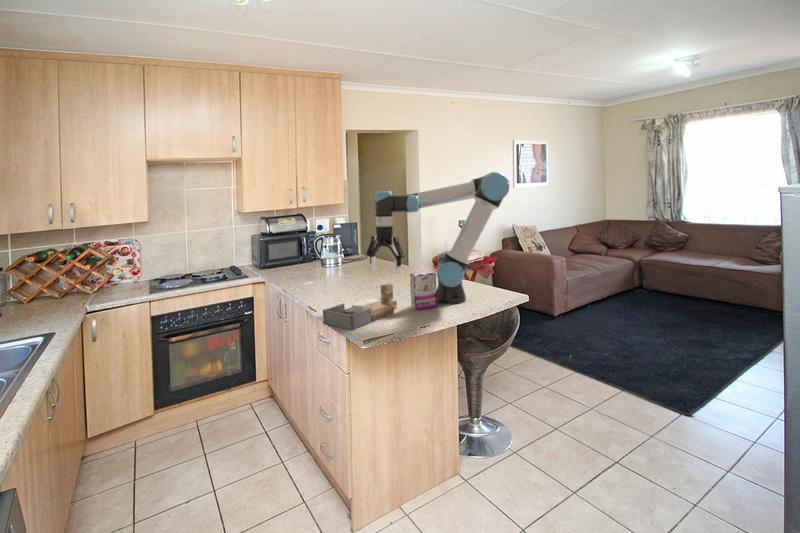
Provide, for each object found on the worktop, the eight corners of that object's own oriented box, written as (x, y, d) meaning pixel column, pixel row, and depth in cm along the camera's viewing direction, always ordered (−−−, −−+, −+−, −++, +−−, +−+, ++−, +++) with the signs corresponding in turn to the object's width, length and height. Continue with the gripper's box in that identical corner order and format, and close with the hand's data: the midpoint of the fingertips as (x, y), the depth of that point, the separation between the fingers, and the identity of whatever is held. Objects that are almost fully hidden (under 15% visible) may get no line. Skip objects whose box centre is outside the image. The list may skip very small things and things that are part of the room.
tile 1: (372, 310, 188) (371, 303, 187) (363, 313, 183) (362, 306, 183) (361, 308, 191) (361, 301, 191) (352, 311, 187) (352, 304, 186)
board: (393, 313, 193) (393, 306, 192) (372, 322, 181) (372, 315, 180) (366, 308, 202) (365, 302, 202) (344, 316, 190) (343, 309, 189)
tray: (371, 322, 180) (371, 308, 179) (352, 330, 171) (352, 315, 170) (343, 316, 190) (342, 303, 189) (323, 324, 180) (322, 310, 179)
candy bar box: (431, 304, 205) (431, 270, 202) (437, 307, 200) (436, 272, 197) (410, 308, 200) (409, 273, 197) (415, 310, 196) (414, 275, 193)
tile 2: (381, 306, 193) (380, 299, 193) (372, 309, 188) (372, 303, 188) (370, 304, 197) (370, 298, 196) (362, 307, 192) (361, 301, 191)
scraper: (398, 308, 201) (397, 284, 199) (393, 310, 198) (392, 286, 196) (381, 305, 207) (380, 282, 205) (376, 307, 204) (375, 284, 202)
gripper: (357, 225, 200) (359, 270, 203) (402, 227, 185) (403, 276, 189) (368, 224, 206) (369, 268, 209) (411, 226, 191) (412, 273, 195)
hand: (385, 272), depth 199 cm, fingers open, 13 cm apart
